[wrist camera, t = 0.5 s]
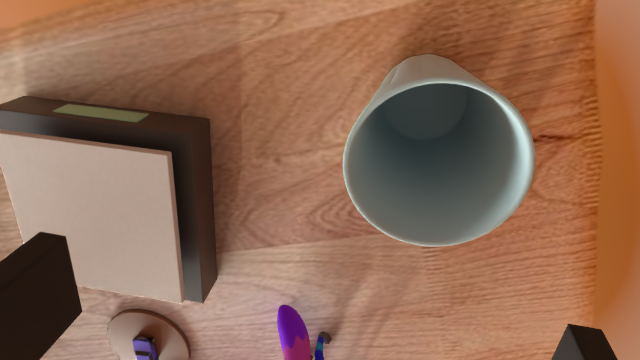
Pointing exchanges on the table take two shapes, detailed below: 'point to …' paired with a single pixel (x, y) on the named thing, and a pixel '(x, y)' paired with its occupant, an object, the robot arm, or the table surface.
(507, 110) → the cup
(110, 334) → the round wooden coaster
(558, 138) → the table surface
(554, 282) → the table surface
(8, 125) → the scale
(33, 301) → the robot arm
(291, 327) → the fox figurine
